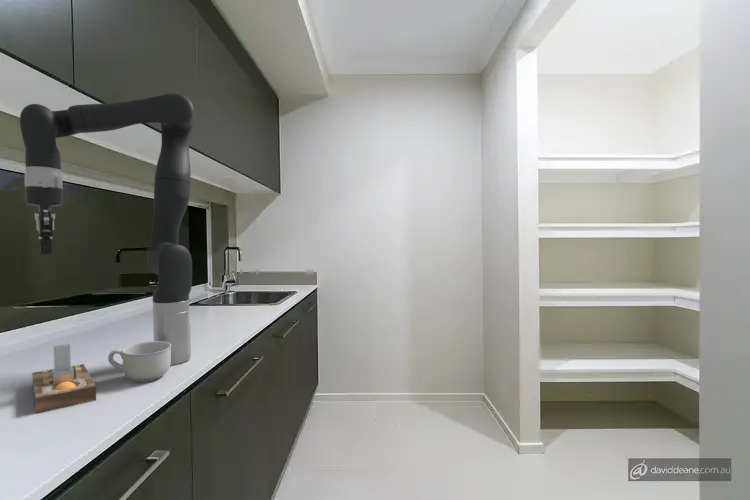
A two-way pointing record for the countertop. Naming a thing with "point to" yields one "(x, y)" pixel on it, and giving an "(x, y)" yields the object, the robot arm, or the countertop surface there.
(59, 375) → the grey upright block
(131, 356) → the teacup
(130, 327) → the countertop surface
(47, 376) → the wooden holder
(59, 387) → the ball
